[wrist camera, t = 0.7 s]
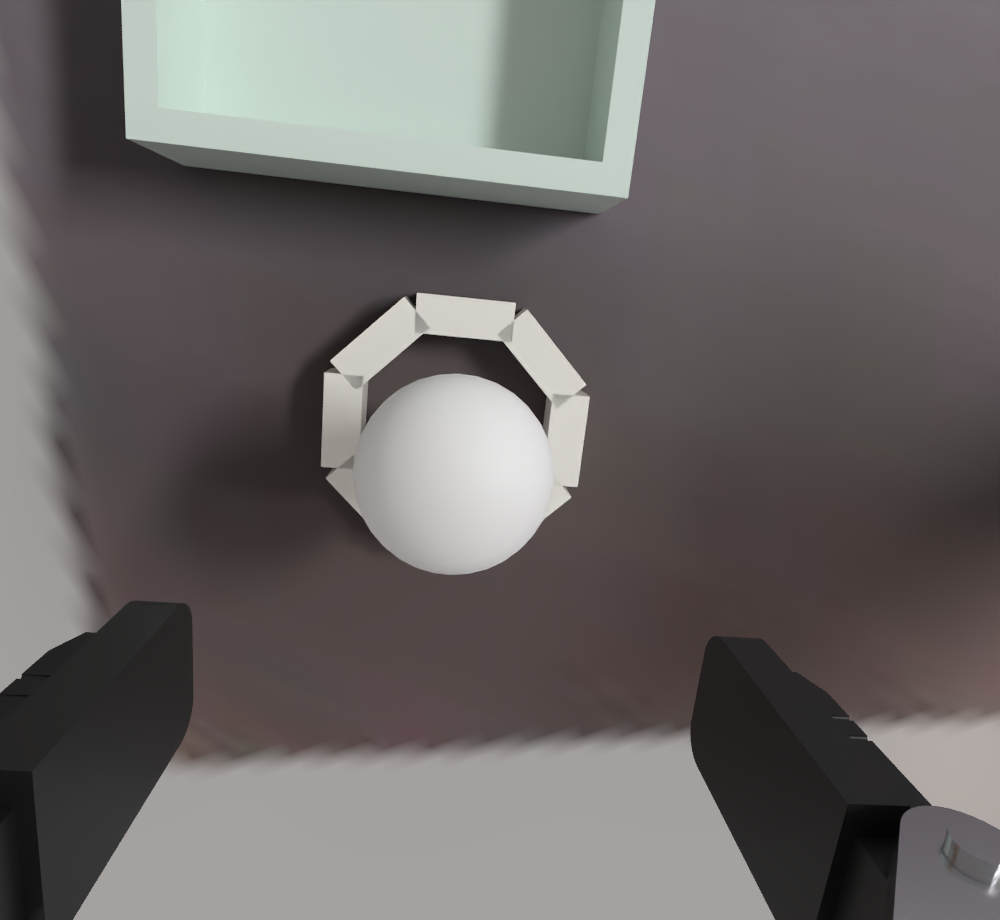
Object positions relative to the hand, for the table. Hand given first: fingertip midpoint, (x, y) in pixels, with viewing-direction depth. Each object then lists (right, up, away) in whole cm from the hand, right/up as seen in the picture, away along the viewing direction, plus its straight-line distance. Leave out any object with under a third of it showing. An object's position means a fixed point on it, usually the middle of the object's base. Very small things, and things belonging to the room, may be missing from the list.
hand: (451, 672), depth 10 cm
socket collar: (-1, +5, +18) cm, 18 cm away
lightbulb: (-1, +5, +18) cm, 19 cm away
